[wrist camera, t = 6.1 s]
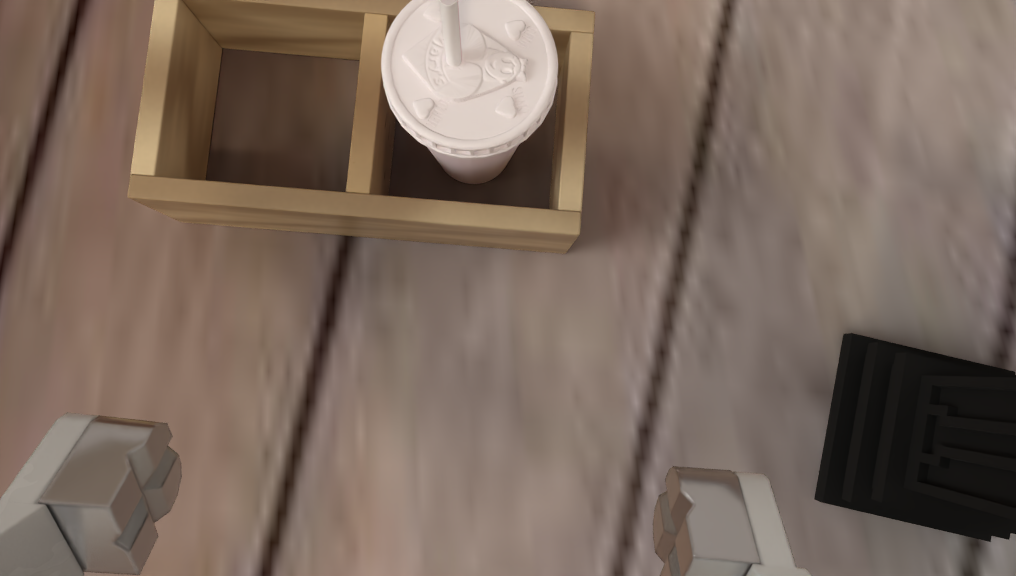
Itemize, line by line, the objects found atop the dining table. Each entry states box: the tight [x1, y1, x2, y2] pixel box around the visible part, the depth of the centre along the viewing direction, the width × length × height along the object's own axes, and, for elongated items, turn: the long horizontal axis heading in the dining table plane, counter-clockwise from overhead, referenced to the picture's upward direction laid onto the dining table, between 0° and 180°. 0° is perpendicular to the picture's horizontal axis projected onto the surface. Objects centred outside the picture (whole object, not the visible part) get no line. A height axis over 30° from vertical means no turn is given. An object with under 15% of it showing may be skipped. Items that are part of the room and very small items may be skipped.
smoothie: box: [381, 0, 558, 184], centre depth 27 cm, size 6×6×14 cm
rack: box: [128, 0, 595, 254], centre depth 32 cm, size 10×19×5 cm, turn 86°
